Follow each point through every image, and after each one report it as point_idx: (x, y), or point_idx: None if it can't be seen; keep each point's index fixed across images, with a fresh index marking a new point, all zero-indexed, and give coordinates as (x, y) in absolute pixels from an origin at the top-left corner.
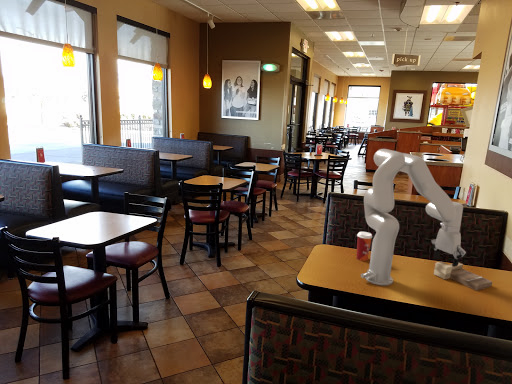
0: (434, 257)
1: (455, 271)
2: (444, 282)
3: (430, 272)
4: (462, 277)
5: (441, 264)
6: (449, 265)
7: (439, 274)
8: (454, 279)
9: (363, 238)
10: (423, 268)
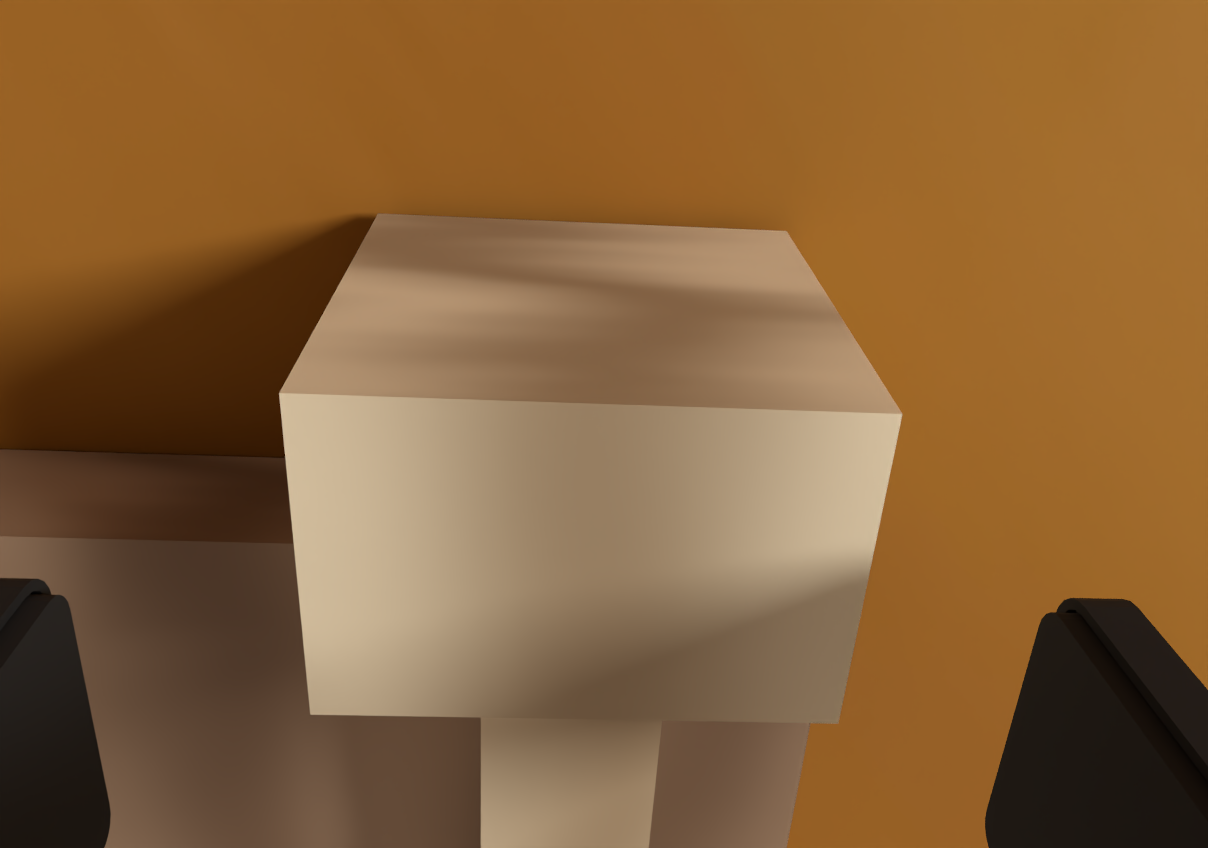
0: (1137, 623)
1: (436, 766)
2: (244, 34)
3: (925, 281)
4: None
5: (632, 482)
6: (414, 691)
7: (581, 245)
8: (258, 468)
9: None
10: (1200, 332)
